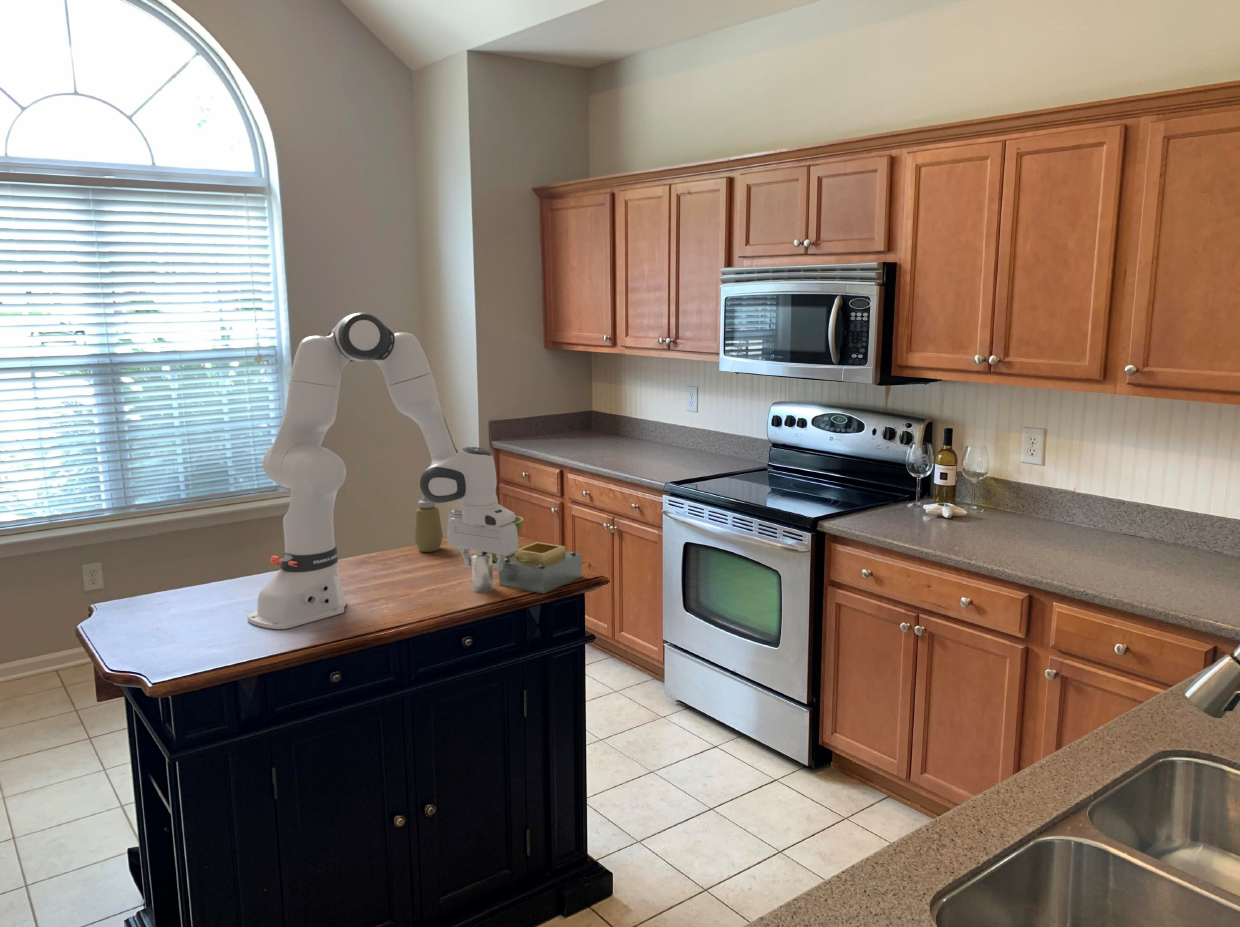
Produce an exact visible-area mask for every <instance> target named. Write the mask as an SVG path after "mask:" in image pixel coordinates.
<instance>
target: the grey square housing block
mask: <svg viewBox="0 0 1240 927" xmlns="http://www.w3.org/2000/svg"><path fill="white" fill-rule="evenodd" d="M582 559H583V558H582V553H577V551H566V546H565V545H561V544H560V545H559V544H553V543H546V542H541V541H535V542H533V543H529V544H528V545H525V546H522V547H518V550H517V552H516V553H515V556H512V557H510V558H505V560H504V562H503V570H501V571H498V580H499V582H498V583H499V586H504V587H508V588H514V589H519V590H523V591H529V592H535V593H539V594H547V593H548V592H550V591H553V590H555V589H558V588H560V587H562V586H564V585H566V584H568V583H570V582H574V581H575V580H577V579H579V578H580V579H581V578H582V577H583V566H582V565H583V564H582Z"/></svg>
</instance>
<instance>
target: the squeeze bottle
mask: <svg viewBox="0 0 1240 927" xmlns="http://www.w3.org/2000/svg"><path fill="white" fill-rule="evenodd" d="M421 496H422V497H421V500H420V499H419V500H418V502H417V505H418V508H416V509H415V512H414V514H415V515H414V533H413V534H414V537H413V540H414V542H415V544H416V547H417V548H418V552H422V553H423V552H424V553H433V552H436V551H439V550H440V548H441V545H442V541H443V537H444V535H443V528H442V522H441V517H440V510H439V508H438V507H436V503H435V502H432V501H430V500H428V499H427V498H426V497H425V496H424V495H423V494H422V495H421Z"/></svg>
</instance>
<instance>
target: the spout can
mask: <svg viewBox="0 0 1240 927" xmlns="http://www.w3.org/2000/svg"><path fill="white" fill-rule="evenodd" d="M470 556H471V560H472V565H471V572H472V573H471V577H472V578H471V580H472V591H473V592H474V593H477V594H486V593H490V592H493V590H494V575H493V574H494V572H493V570H494V568H493V561H492V553H488V552H482V551H476V552H473V553H472V554H470Z"/></svg>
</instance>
